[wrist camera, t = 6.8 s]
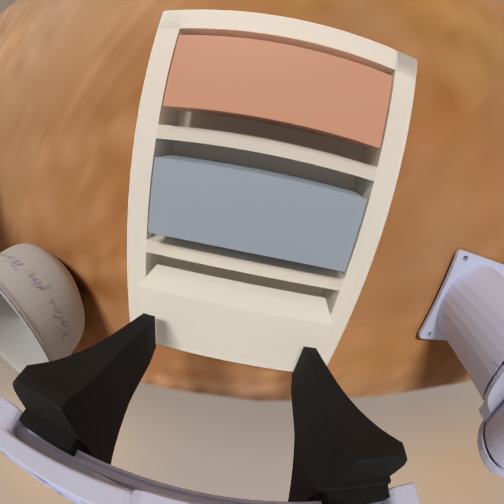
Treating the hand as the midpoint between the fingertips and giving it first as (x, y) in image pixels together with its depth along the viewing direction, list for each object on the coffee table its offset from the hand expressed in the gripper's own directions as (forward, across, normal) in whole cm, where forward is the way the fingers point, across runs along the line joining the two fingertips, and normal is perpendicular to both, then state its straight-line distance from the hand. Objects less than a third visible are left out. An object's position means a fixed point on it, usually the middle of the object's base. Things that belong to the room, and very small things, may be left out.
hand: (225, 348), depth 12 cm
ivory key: (+4, 0, 0) cm, 4 cm away
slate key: (+5, 0, -6) cm, 8 cm away
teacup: (+7, +18, +4) cm, 20 cm away
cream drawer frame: (+6, 0, -6) cm, 9 cm away
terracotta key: (+4, 0, -12) cm, 13 cm away
